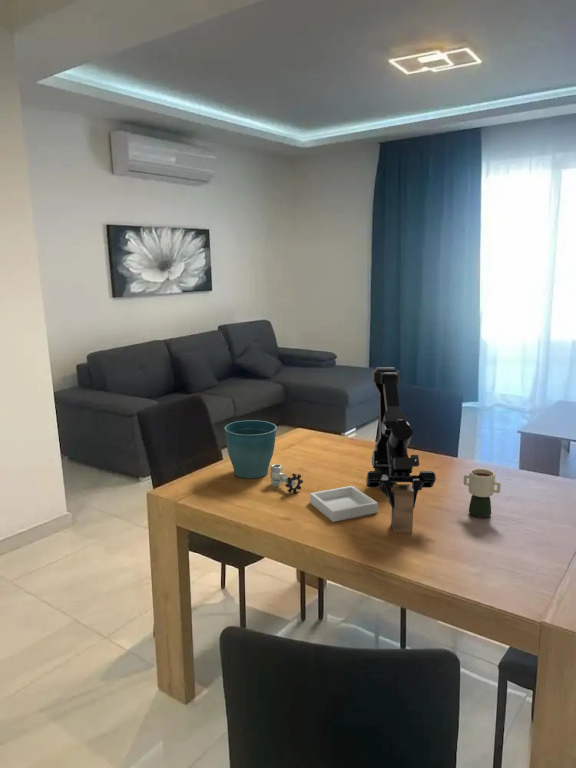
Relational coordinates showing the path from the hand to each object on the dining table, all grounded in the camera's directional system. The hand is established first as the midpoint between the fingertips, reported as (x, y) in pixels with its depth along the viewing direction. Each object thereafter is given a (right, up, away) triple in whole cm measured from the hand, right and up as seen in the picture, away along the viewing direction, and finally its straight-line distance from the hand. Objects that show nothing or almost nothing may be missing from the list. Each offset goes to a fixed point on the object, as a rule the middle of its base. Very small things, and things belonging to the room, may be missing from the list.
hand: (403, 508), depth 159 cm
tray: (-15, -3, +17) cm, 23 cm away
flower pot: (-44, +2, +46) cm, 64 cm away
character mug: (+25, -4, +11) cm, 27 cm away
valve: (-33, -1, +32) cm, 46 cm away
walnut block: (0, -6, +3) cm, 7 cm away
